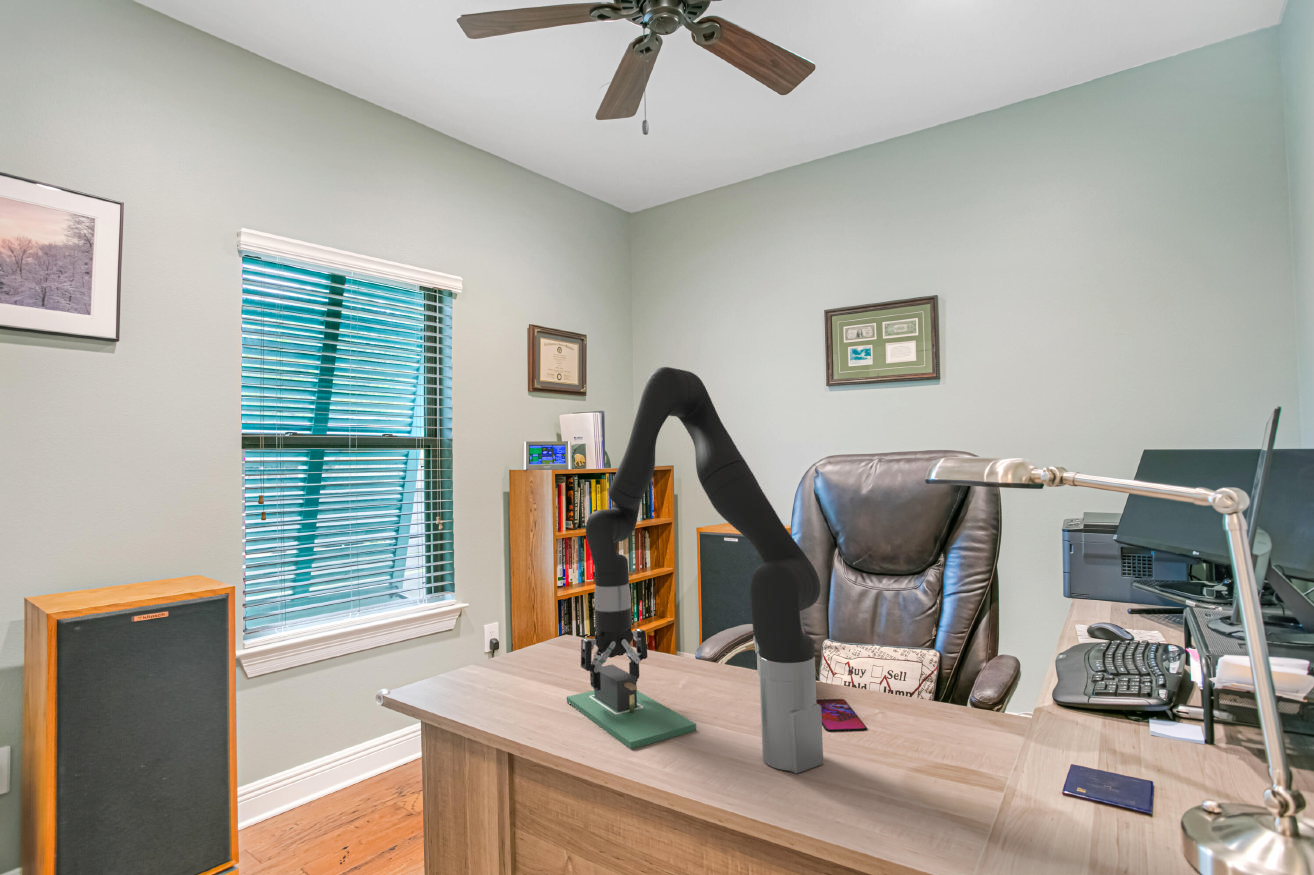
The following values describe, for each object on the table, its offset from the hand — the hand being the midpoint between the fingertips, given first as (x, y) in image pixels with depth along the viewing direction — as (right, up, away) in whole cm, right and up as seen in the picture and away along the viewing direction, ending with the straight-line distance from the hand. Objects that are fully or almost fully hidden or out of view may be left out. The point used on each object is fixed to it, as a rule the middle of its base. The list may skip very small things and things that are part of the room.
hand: (615, 685), depth 136 cm
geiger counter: (+33, -4, +13) cm, 36 cm away
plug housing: (+1, -3, -1) cm, 4 cm away
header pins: (0, -3, 0) cm, 3 cm away
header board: (+3, -4, -4) cm, 7 cm away
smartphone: (+43, -4, -8) cm, 44 cm away
